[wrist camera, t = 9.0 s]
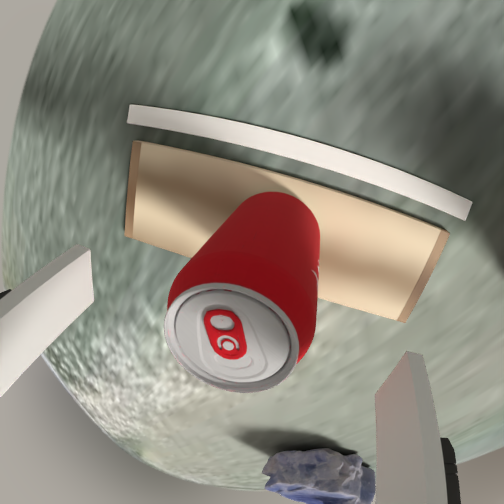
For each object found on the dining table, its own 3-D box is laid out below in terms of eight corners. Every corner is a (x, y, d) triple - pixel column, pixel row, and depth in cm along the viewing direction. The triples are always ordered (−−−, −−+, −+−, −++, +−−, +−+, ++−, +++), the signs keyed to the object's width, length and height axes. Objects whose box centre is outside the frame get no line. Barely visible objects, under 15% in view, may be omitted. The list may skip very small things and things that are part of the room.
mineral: (385, 515, 24) (325, 534, 28) (386, 459, 32) (334, 484, 36) (298, 477, 24) (241, 498, 28) (312, 414, 33) (261, 444, 37)
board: (137, 140, 22) (132, 141, 21) (447, 230, 19) (449, 233, 19) (128, 233, 25) (124, 235, 25) (403, 318, 23) (405, 322, 22)
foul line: (131, 104, 21) (129, 104, 20) (471, 201, 18) (472, 202, 18) (129, 123, 21) (126, 123, 21) (463, 219, 19) (465, 221, 18)
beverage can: (240, 274, 24) (177, 394, 13) (225, 194, 21) (129, 275, 11) (324, 270, 22) (315, 403, 11) (316, 184, 20) (306, 268, 9)
